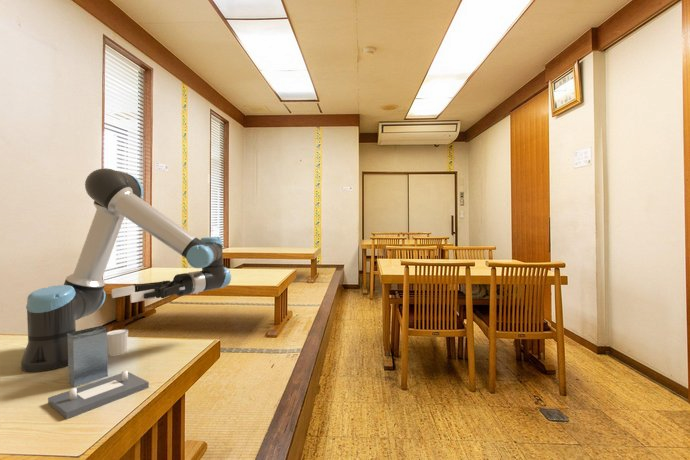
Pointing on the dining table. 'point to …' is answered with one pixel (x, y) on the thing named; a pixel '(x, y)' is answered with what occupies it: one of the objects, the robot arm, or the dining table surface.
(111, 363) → the dining table surface
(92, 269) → the robot arm
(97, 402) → the slotted base plate
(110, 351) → the white cylinder
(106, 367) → the block
